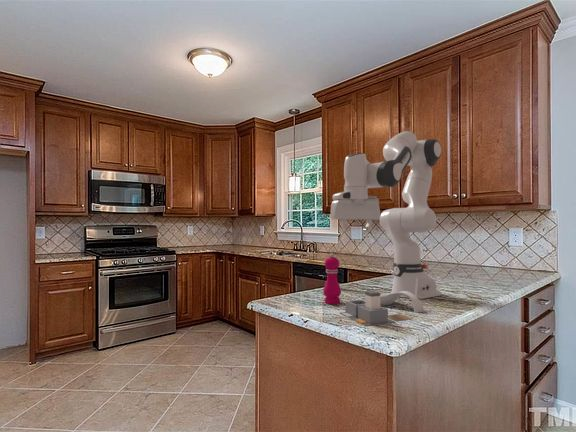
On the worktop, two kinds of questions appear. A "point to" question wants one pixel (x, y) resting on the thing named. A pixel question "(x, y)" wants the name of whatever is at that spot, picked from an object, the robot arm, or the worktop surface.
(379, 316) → the port box
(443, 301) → the worktop surface
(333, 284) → the pepper mill
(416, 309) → the grey curved arch
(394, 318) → the deck
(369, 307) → the plug
